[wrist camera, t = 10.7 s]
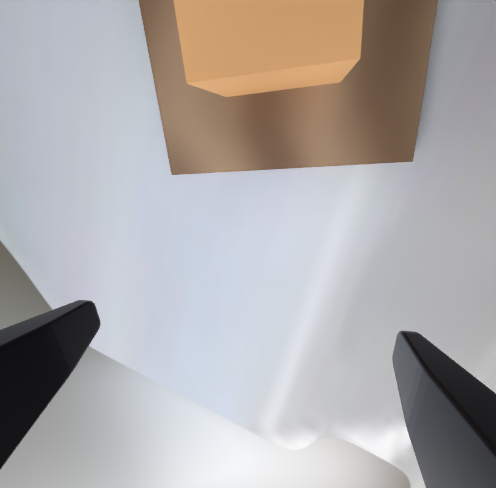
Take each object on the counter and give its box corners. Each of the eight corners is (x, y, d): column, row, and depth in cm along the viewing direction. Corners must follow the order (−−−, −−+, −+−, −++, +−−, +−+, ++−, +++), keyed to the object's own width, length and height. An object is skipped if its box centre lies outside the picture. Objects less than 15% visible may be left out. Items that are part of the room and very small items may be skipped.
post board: (457, -226, 10) (577, -503, 6) (403, 158, 16) (443, 171, 11) (130, -123, 13) (39, -252, 9) (181, 171, 19) (142, 186, 14)
